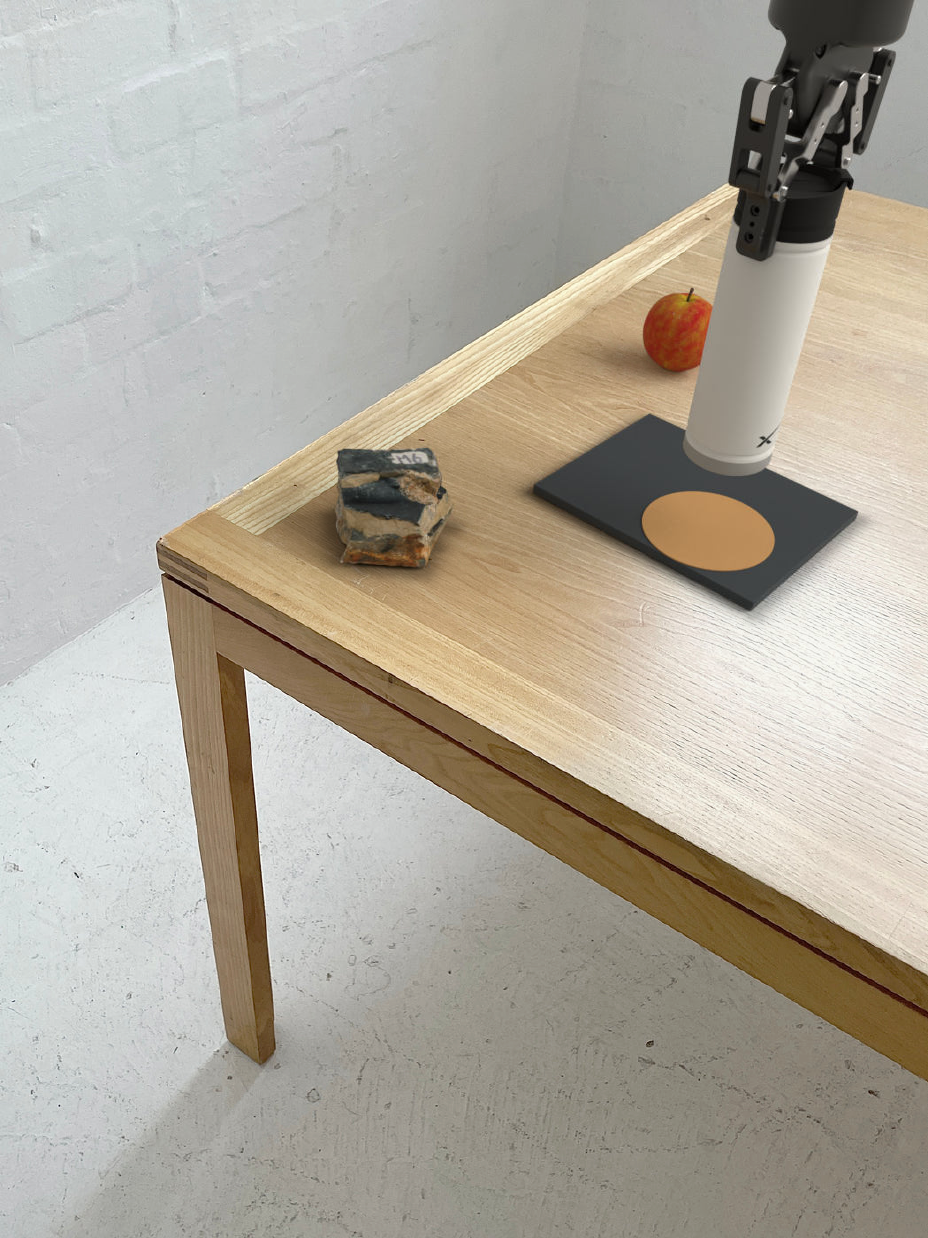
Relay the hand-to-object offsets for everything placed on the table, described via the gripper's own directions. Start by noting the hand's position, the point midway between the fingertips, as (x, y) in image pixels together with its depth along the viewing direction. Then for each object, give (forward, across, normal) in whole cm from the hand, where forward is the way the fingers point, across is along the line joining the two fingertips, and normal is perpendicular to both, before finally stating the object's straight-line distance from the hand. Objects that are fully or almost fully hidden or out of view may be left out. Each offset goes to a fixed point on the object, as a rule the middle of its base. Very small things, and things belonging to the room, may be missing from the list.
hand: (781, 240), depth 71 cm
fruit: (+23, +21, +17) cm, 36 cm away
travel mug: (+16, 0, 0) cm, 16 cm away
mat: (+23, +3, +3) cm, 24 cm away
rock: (+24, -17, +17) cm, 34 cm away
